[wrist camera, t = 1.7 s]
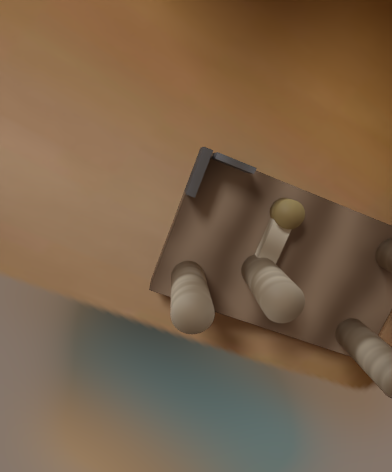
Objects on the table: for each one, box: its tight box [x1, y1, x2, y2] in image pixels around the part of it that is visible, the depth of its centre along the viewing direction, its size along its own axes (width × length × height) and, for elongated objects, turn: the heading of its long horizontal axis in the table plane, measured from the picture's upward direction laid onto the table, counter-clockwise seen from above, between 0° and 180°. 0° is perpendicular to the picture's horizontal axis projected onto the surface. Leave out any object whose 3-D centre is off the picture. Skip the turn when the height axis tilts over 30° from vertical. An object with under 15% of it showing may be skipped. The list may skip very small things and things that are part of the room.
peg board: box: [149, 147, 392, 398], centre depth 29 cm, size 24×14×11 cm, turn 69°
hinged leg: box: [241, 198, 305, 323], centre depth 27 cm, size 9×3×8 cm, turn 159°
